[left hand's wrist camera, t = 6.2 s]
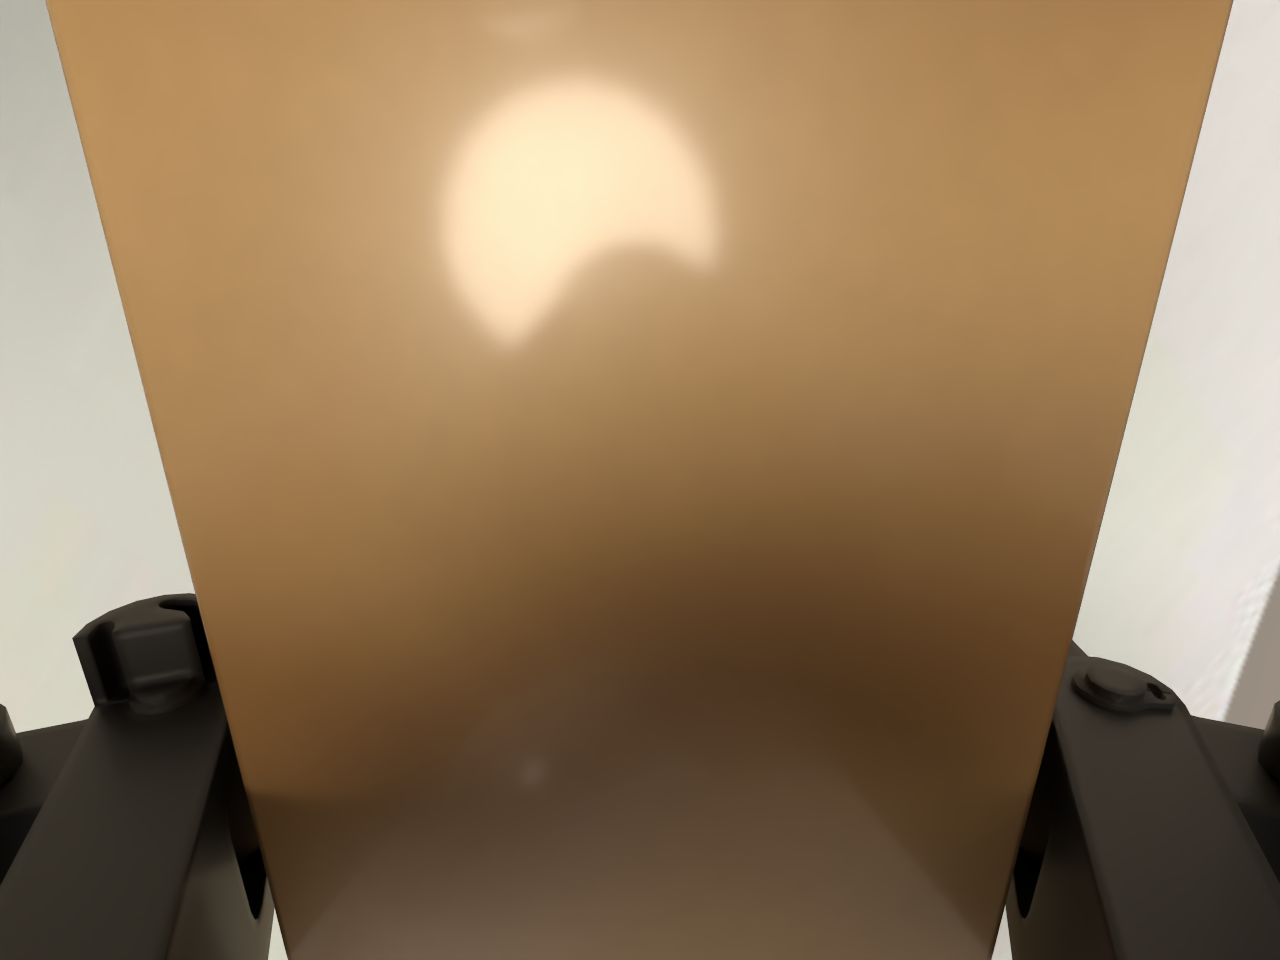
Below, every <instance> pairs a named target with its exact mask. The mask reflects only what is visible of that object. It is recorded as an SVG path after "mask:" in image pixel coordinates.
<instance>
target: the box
mask: <svg viewBox="0 0 1280 960" xmlns="http://www.w3.org/2000/svg"><path fill="white" fill-rule="evenodd" d="M46 4H47V8H48V12H49V16H50V20H51V24H52V28H53V32H54V36H55V40H56V44H57V48H58V52H59V56H60V60H61V64H62V67H63V71H64V75H65V79H66V83H67V87H68V91H69V95H70V99H71V103H72V107H73V111H74V115H75V119H76V123H77V127H78V131H79V135H80V139H81V143H82V147H83V151H84V155H85V158H86V162H87V166H88V170H89V174H90V178H91V182H92V186H93V190H94V194H95V198H96V202H97V206H98V210H99V214H100V218H101V222H102V226H103V230H104V234H105V238H106V242H107V246H108V250H109V253H110V257H111V261H112V265H113V269H114V273H115V277H116V281H117V285H118V289H119V293H120V297H121V301H122V305H123V309H124V313H125V317H126V321H127V325H128V329H129V333H130V337H131V341H132V344H133V348H134V352H135V356H136V360H137V364H138V368H139V372H140V376H141V380H142V384H143V388H144V392H145V396H146V400H147V404H148V408H149V412H150V416H151V420H152V424H153V428H154V432H155V435H156V439H157V443H158V447H159V451H160V455H161V459H162V463H163V467H164V471H165V475H166V479H167V483H168V487H169V491H170V495H171V499H172V503H173V507H174V511H175V515H176V519H177V523H178V527H179V530H180V534H181V538H182V542H183V546H184V550H185V554H186V558H187V562H188V566H189V570H190V574H191V578H192V582H193V586H194V590H195V594H196V598H197V602H198V606H199V610H200V614H201V618H202V621H203V625H204V629H205V633H206V637H207V641H208V645H209V649H210V653H211V657H212V661H213V665H214V669H215V673H216V677H217V681H218V685H219V689H220V693H221V697H222V701H223V705H224V709H225V713H226V716H227V720H228V724H229V728H230V732H231V736H232V740H233V744H234V748H235V752H236V756H237V760H238V764H239V768H240V772H241V776H242V780H243V784H244V788H245V792H246V796H247V800H248V804H249V807H250V811H251V815H252V819H253V823H254V827H255V831H256V835H257V839H258V843H259V847H260V851H261V855H262V859H263V863H264V867H265V871H266V875H267V879H268V883H269V887H270V891H271V895H272V898H273V902H274V906H275V910H276V914H277V918H278V922H279V926H280V930H281V934H282V938H283V942H284V946H285V950H286V954H287V958H288V960H991V959H992V955H993V951H994V947H995V943H996V939H997V935H998V931H999V927H1000V923H1001V919H1002V915H1003V911H1004V907H1005V903H1006V899H1007V895H1008V891H1009V887H1010V883H1011V879H1012V875H1013V872H1014V868H1015V864H1016V860H1017V856H1018V852H1019V848H1020V844H1021V840H1022V836H1023V832H1024V828H1025V824H1026V820H1027V816H1028V812H1029V808H1030V804H1031V800H1032V796H1033V792H1034V788H1035V784H1036V780H1037V776H1038V772H1039V768H1040V765H1041V761H1042V757H1043V753H1044V749H1045V745H1046V741H1047V737H1048V733H1049V729H1050V725H1051V721H1052V717H1053V713H1054V709H1055V705H1056V701H1057V697H1058V693H1059V689H1060V685H1061V681H1062V677H1063V673H1064V669H1065V665H1066V662H1067V658H1068V654H1069V650H1070V646H1071V642H1072V638H1073V634H1074V630H1075V626H1076V622H1077V618H1078V614H1079V610H1080V606H1081V602H1082V598H1083V594H1084V590H1085V586H1086V582H1087V578H1088V574H1089V570H1090V566H1091V562H1092V558H1093V555H1094V551H1095V547H1096V543H1097V539H1098V535H1099V531H1100V527H1101V523H1102V519H1103V515H1104V511H1105V507H1106V503H1107V499H1108V495H1109V491H1110V487H1111V483H1112V479H1113V475H1114V471H1115V467H1116V463H1117V459H1118V455H1119V451H1120V448H1121V444H1122V440H1123V436H1124V432H1125V428H1126V424H1127V420H1128V416H1129V412H1130V408H1131V404H1132V400H1133V396H1134V392H1135V388H1136V384H1137V380H1138V376H1139V372H1140V368H1141V364H1142V360H1143V356H1144V352H1145V348H1146V345H1147V341H1148V337H1149V333H1150V329H1151V325H1152V321H1153V317H1154V313H1155V309H1156V305H1157V301H1158V297H1159V293H1160V289H1161V285H1162V281H1163V277H1164V273H1165V269H1166V265H1167V261H1168V257H1169V253H1170V249H1171V245H1172V241H1173V238H1174V234H1175V230H1176V226H1177V222H1178V218H1179V214H1180V210H1181V206H1182V202H1183V198H1184V194H1185V190H1186V186H1187V182H1188V178H1189V174H1190V170H1191V166H1192V162H1193V158H1194V154H1195V150H1196V146H1197V142H1198V138H1199V134H1200V131H1201V127H1202V123H1203V119H1204V115H1205V111H1206V107H1207V103H1208V99H1209V95H1210V91H1211V87H1212V83H1213V79H1214V75H1215V71H1216V67H1217V63H1218V59H1219V55H1220V51H1221V47H1222V43H1223V39H1224V35H1225V31H1226V27H1227V24H1228V20H1229V16H1230V12H1231V8H1232V4H1233V0H46Z"/></svg>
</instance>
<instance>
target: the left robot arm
mask: <svg viewBox="0 0 1280 960" xmlns="http://www.w3.org/2000/svg"><path fill="white" fill-rule="evenodd" d="M72 639H73V642H74V645H75V648H76V651H77V654H78V657H79V660H80V663H81V666H82V669H83V672H84V675H85V678H86V681H87V684H88V687H89V690H90V693H91V696H92V699H93V702H94V705H95V707H94V709H93V711H92V713H91V715H90V717H89V719H86V720H82V721H77V722H72V723H67V724H62V725H56V726H51V727H46V728H41V729H36V730H31V731H26V732H20V733H16V732H15V730H14V727H13V724H12V722H11V719H10V717H9V714H8V712H7V709H6V707H5V706H3V705H1V704H0V960H268V954H269V946H270V938H271V930H272V923H273V915H274V907H275V906H274V902H273V898H272V895H271V891H270V887H269V883H268V879H267V875H266V871H265V867H264V863H263V859H262V855H261V851H260V847H259V843H258V839H257V835H256V831H255V827H254V823H253V819H252V815H251V811H250V807H249V804H248V800H247V796H246V792H245V788H244V784H243V780H242V776H241V772H240V768H239V764H238V760H237V756H236V752H235V748H234V744H233V740H232V736H231V732H230V728H229V724H228V720H227V716H226V713H225V709H224V705H223V701H222V697H221V693H220V689H219V685H218V681H217V677H216V673H215V669H214V665H213V661H212V657H211V653H210V649H209V645H208V641H207V637H206V633H205V629H204V625H203V621H202V618H201V614H200V610H199V606H198V602H197V598H196V594H191V593H187V594H172V595H162V596H158V597H153V598H149V599H144V600H140V601H136V602H133V603H130V604H128V605H125V606H122V607H120V608H117V609H114V610H112V611H109V612H107V613H106V614H104V615H102V616H100V617H99V618H97V619H95V620H93V621H92V622H90V623H88V624H87V625H85V626H84V627H83V628H82V629H81V630H80V631H79V632H78V633H77V634H76V635H75V636H74V637H73V638H72ZM1005 905H1006V913H1007V920H1008V928H1009V936H1010V944H1011V952H1012V959H1013V960H1280V701H1278V702H1277V703H1275V704H1274V707H1273V710H1272V712H1271V715H1270V717H1269V720H1268V723H1267V725H1266V728H1265V730H1262V729H1257V728H1252V727H1246V726H1241V725H1236V724H1231V723H1226V722H1221V721H1215V720H1210V719H1205V718H1200V717H1196V716H1192V715H1190V713H1189V711H1188V710H1187V708H1186V706H1185V704H1184V703H1183V702H1182V701H1181V700H1180V699H1179V697H1178V696H1177V695H1176V694H1175V693H1174V691H1173V690H1172V689H1170V688H1169V687H1167V686H1166V685H1164V684H1163V683H1161V682H1160V681H1158V680H1157V679H1155V678H1154V677H1152V676H1151V675H1149V674H1146V673H1144V672H1142V671H1139V670H1137V669H1135V668H1133V667H1130V666H1128V665H1126V664H1122V663H1118V662H1114V661H1111V660H1107V659H1103V658H1099V657H1088V656H1087V655H1086V654H1085V653H1084V652H1083V651H1082V650H1081V649H1080V648H1079V647H1078V645H1077V644H1076V643H1075V642H1074V641H1073V640H1072V642H1071V646H1070V650H1069V654H1068V658H1067V662H1066V665H1065V669H1064V673H1063V677H1062V681H1061V685H1060V689H1059V693H1058V697H1057V701H1056V705H1055V709H1054V713H1053V717H1052V721H1051V725H1050V729H1049V733H1048V737H1047V741H1046V745H1045V749H1044V753H1043V757H1042V761H1041V765H1040V768H1039V772H1038V776H1037V780H1036V784H1035V788H1034V792H1033V796H1032V800H1031V804H1030V808H1029V812H1028V816H1027V820H1026V824H1025V828H1024V832H1023V836H1022V840H1021V844H1020V848H1019V852H1018V856H1017V860H1016V864H1015V868H1014V872H1013V875H1012V879H1011V883H1010V887H1009V891H1008V895H1007V899H1006V903H1005Z"/></svg>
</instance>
